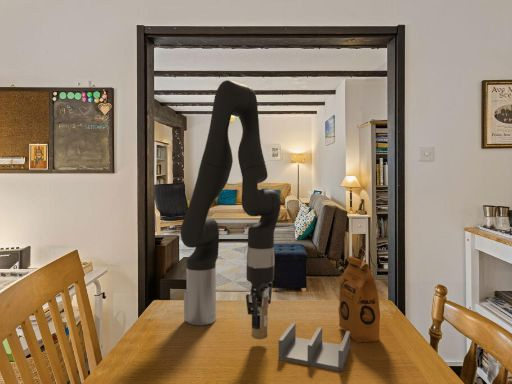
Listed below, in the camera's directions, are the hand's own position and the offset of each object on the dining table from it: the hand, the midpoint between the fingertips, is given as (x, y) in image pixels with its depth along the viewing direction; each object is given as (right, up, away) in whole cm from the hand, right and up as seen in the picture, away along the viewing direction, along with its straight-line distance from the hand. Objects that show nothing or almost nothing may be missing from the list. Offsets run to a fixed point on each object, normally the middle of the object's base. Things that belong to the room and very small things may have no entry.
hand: (259, 324), depth 104 cm
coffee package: (+29, -6, +7) cm, 30 cm away
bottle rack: (+14, -6, -5) cm, 17 cm away
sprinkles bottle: (0, -4, 0) cm, 3 cm away
